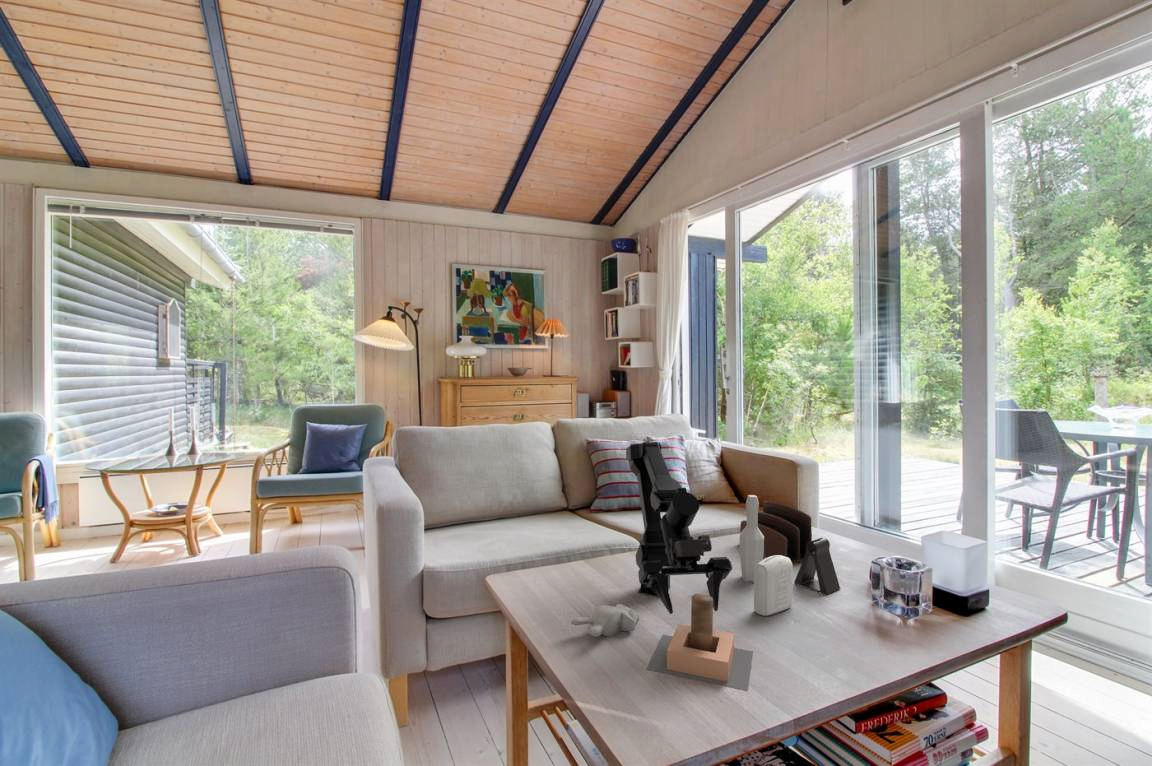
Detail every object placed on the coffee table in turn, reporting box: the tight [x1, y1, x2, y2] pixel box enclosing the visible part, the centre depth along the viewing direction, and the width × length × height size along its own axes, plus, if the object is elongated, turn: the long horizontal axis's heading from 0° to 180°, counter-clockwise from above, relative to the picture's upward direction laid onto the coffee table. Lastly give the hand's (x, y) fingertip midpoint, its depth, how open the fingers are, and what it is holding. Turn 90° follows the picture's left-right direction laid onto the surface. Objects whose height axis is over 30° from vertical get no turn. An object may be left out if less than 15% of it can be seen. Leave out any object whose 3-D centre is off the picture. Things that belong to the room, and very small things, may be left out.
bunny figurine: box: [570, 603, 640, 638], centre depth 118 cm, size 10×5×15 cm
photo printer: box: [753, 555, 794, 617], centre depth 128 cm, size 10×4×12 cm, turn 123°
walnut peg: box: [690, 593, 714, 652], centre depth 106 cm, size 4×4×12 cm
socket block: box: [667, 624, 735, 682], centre depth 106 cm, size 11×11×4 cm
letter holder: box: [739, 500, 813, 565], centre depth 167 cm, size 10×20×14 cm, turn 23°
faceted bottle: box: [739, 494, 764, 583], centre depth 146 cm, size 6×6×22 cm
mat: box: [646, 634, 754, 692], centre depth 106 cm, size 18×14×1 cm
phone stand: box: [793, 537, 841, 596], centre depth 142 cm, size 9×6×12 cm, turn 35°
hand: (694, 612), depth 110 cm, fingers open, 9 cm apart
